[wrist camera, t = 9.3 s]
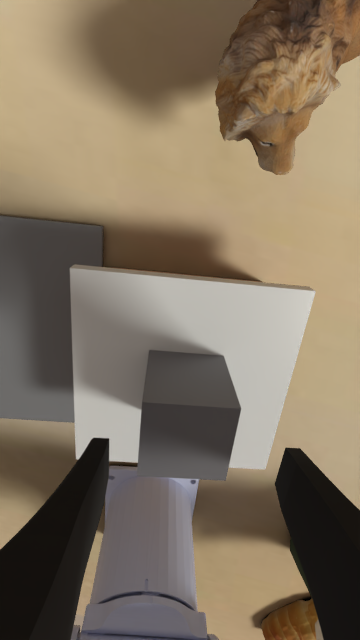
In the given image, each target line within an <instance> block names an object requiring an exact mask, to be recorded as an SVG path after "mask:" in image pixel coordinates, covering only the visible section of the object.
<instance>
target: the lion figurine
mask: <svg viewBox="0 0 360 640" xmlns="http://www.w3.org/2000/svg"><path fill="white" fill-rule="evenodd" d="M359 55H360V0H258V1H257V2H256V3H255V5H254V7H253V8H252V9H251V10H250V11H249V12H248V13H247V14H246V15H244V16H243V17H242V18H241V20H240V21H239V25H238V27H237V29H236V31H235V33H233V34H232V36H231V38H230V45H229V46H228V47H227V48H226V49H225V51H224V54H223V57H222V59H221V61H220V63H219V71H218V81H219V84H218V87H217V89H216V91H215V95H216V105H217V106H218V109H219V113H218V115H219V120H220V132H221V134H222V136H223V139H224V141H226V140H236V141H240V140H243V139H245V138H247V139H248V140H250V142H251V143H252V145H253V147H254V150H255V152H256V155H257V156H258V162H259V165H260V167H261V168H262V169H264V170H266V171H270V172H273V173H274V174H276V175H285V174H287V173H289V172H290V171H291V169H292V168H293V161H294V157H295V139H296V137H297V136H298V135H299V134H300V133H301V132H302V131H304V130H305V129H306V128H307V126H308V124H309V120H310V117H311V114H312V112H313V110H315V109H316V108H317V107H318V106H319V105H321V104H323V102H324V100H325V99H326V98H327V97H328V95H329V93H330V92H331V91H334V90H336V89H337V88H339V87H340V83H339V81H338V80H337V79H336V78H335V74H336V72H337V70H338V69H339V67H340V65H341V64H343V63H346V62H348V61H350V60H352V59H354V58H356V57H357V56H359Z"/></svg>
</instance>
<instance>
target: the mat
mask: <svg viewBox="0 0 360 640" xmlns="http://www.w3.org/2000/svg"><path fill="white" fill-rule="evenodd" d="M75 264H76V265H86V266H97V267H103V226H98V225H88V224H78V223H69V222H59V221H50V220H40V219H30V218H21V217H11V216H2V215H0V418H8V419H24V420H40V421H57V422H73V423H75V415H74V385H73V354H72V324H71V293H70V267H72V266H73V265H75Z"/></svg>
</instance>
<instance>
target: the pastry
mask: <svg viewBox="0 0 360 640" xmlns="http://www.w3.org/2000/svg"><path fill="white" fill-rule="evenodd" d="M317 620H318V617H317V613H316V610H315V606H314V603H313V599H312V598H311V600H309V601H303V600H298V601H295V602H293V603H292V604H289V605H286V606H284V607H282V608H279V609H277V610H275V611H273V612H271V613H270V614H269V615H268V617H267V618H265V619H263V621H262V625H261V628H262V631H263V635H264V637H265V640H316V632H315V623H316V622H317Z"/></svg>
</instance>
